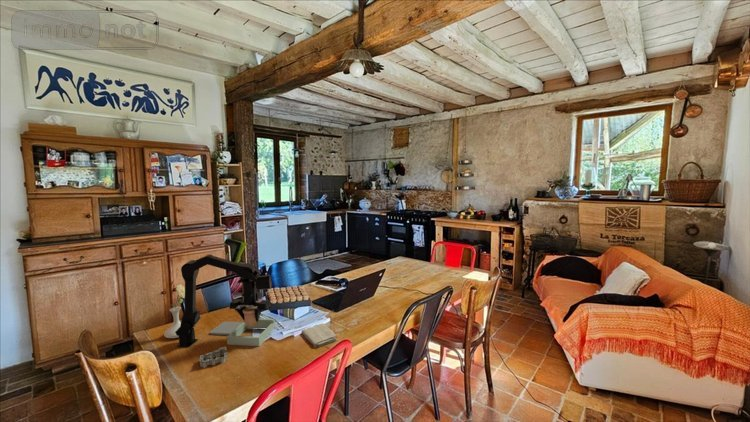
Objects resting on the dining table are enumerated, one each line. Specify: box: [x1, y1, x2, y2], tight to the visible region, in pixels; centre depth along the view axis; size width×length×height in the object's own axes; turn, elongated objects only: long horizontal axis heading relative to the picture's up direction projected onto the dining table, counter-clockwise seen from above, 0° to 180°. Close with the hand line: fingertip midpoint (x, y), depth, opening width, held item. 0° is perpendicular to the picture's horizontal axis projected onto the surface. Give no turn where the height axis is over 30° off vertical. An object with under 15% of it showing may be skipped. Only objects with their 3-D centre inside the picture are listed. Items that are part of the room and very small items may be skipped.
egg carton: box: [198, 346, 228, 369], centre depth 135 cm, size 11×8×4 cm
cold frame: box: [226, 318, 276, 347], centre depth 155 cm, size 16×16×6 cm
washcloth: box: [301, 323, 338, 349], centre depth 153 cm, size 12×18×3 cm, turn 35°
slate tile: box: [209, 321, 244, 336], centre depth 163 cm, size 12×12×1 cm
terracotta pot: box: [243, 306, 258, 327], centre depth 154 cm, size 7×7×8 cm
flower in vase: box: [163, 284, 185, 339], centre depth 158 cm, size 13×11×25 cm
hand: (251, 321), depth 154 cm, fingers closed on terracotta pot, 6 cm apart
